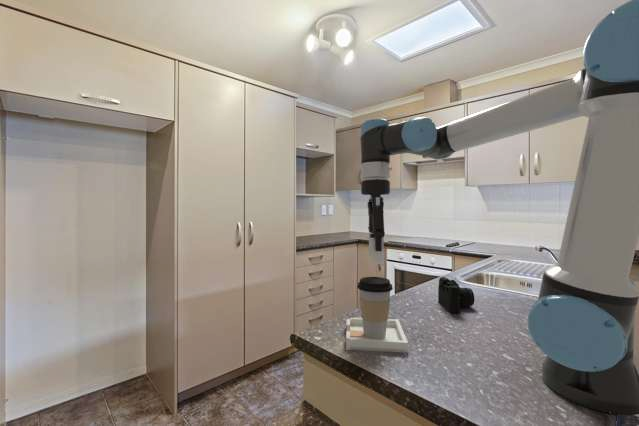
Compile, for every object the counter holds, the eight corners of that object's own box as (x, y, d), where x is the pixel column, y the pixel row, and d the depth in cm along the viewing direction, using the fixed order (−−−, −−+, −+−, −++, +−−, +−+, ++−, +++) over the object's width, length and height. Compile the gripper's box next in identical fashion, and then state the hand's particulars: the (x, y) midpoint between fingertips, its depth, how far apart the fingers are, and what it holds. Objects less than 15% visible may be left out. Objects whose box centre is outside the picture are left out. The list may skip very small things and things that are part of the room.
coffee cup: (379, 326, 89) (380, 274, 88) (399, 339, 80) (400, 282, 79) (350, 331, 85) (351, 277, 85) (368, 345, 76) (368, 286, 76)
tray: (407, 352, 74) (408, 342, 74) (346, 349, 76) (346, 339, 76) (398, 328, 89) (398, 319, 89) (346, 325, 91) (346, 317, 91)
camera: (481, 315, 100) (481, 285, 100) (447, 314, 101) (447, 284, 101) (465, 301, 114) (465, 275, 113) (435, 301, 115) (435, 274, 114)
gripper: (396, 174, 69) (397, 268, 69) (384, 183, 93) (384, 252, 94) (363, 175, 69) (363, 268, 70) (359, 183, 94) (360, 252, 95)
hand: (375, 259), depth 82 cm, fingers open, 13 cm apart
